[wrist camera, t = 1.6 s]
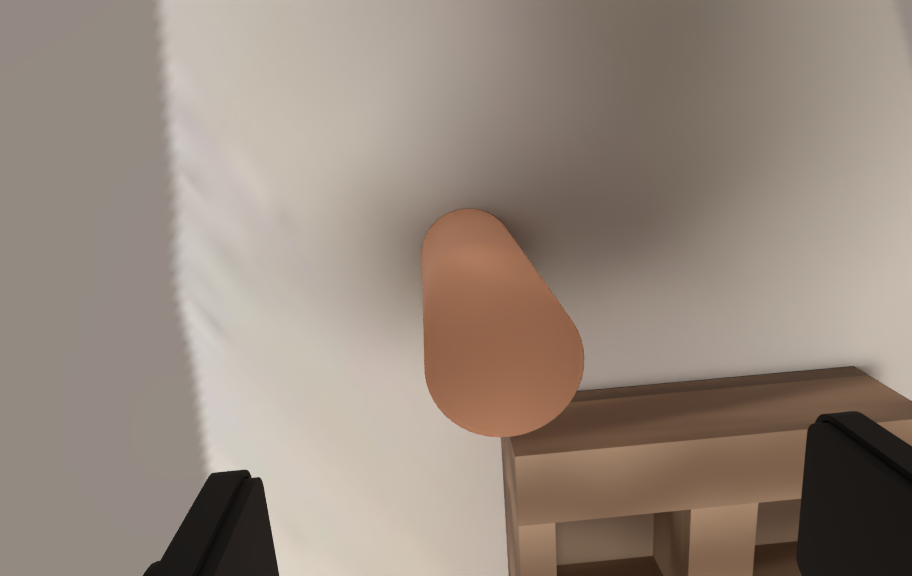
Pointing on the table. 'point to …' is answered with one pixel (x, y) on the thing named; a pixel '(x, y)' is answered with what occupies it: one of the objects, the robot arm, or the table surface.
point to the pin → (493, 330)
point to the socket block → (677, 475)
